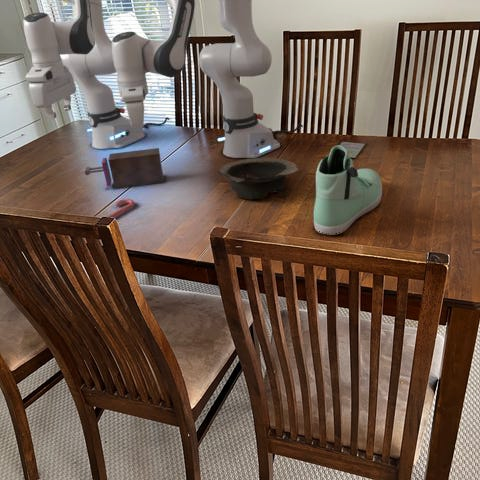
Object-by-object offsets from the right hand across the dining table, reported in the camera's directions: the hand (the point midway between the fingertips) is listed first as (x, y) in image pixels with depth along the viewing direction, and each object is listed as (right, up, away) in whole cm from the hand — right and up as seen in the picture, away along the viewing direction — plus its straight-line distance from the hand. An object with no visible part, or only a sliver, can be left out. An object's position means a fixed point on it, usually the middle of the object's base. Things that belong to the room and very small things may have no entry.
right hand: (141, 132), depth 157 cm
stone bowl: (+38, -19, -2) cm, 43 cm away
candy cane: (-6, -27, -10) cm, 30 cm away
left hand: (-27, +6, +1) cm, 27 cm away
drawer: (-8, -15, +8) cm, 19 cm away
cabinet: (-2, -15, +9) cm, 18 cm away
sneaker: (+64, -26, -18) cm, 71 cm away
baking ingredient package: (+73, -2, +20) cm, 75 cm away
